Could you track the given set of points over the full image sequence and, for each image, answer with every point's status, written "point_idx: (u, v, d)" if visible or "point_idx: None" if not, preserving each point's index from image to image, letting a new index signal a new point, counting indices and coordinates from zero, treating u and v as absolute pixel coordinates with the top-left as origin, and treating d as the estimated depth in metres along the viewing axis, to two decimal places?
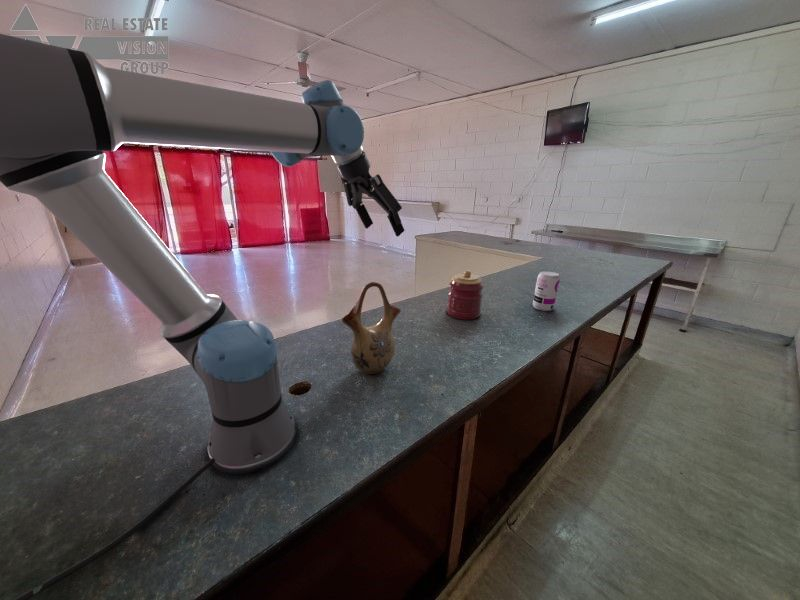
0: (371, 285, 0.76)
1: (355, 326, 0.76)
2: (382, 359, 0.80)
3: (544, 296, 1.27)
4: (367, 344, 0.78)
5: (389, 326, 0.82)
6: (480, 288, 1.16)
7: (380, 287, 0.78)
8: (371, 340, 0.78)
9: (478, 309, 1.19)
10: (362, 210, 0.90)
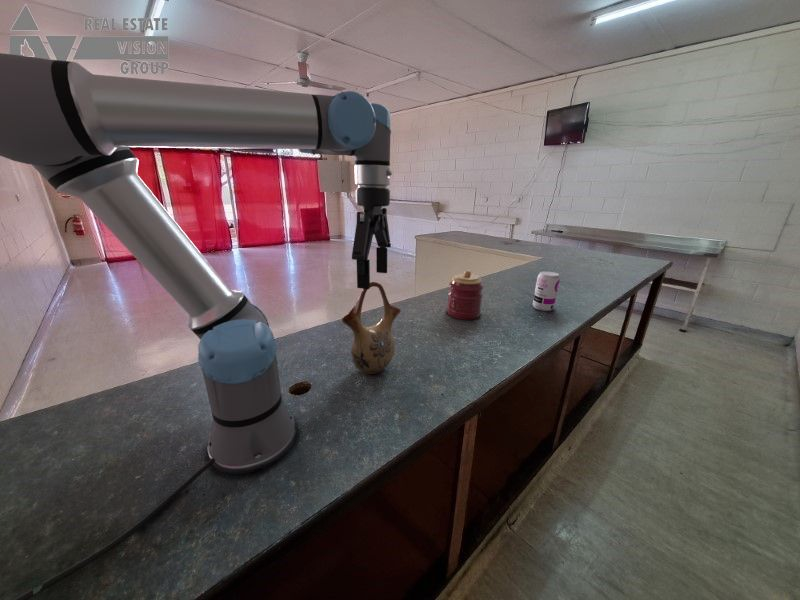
0: (371, 285, 0.76)
1: (355, 326, 0.76)
2: (382, 359, 0.80)
3: (544, 296, 1.27)
4: (367, 344, 0.78)
5: (389, 326, 0.82)
6: (480, 288, 1.16)
7: (380, 287, 0.78)
8: (371, 340, 0.78)
9: (478, 309, 1.19)
10: (381, 252, 0.81)
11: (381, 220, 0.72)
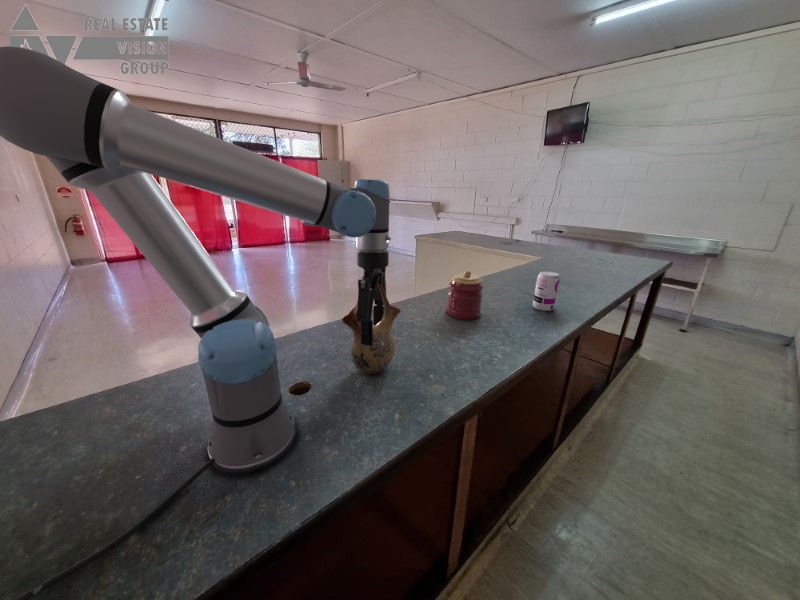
0: None
1: (355, 327, 0.76)
2: (382, 359, 0.80)
3: (544, 296, 1.27)
4: None
5: (389, 326, 0.82)
6: (480, 288, 1.16)
7: (380, 287, 0.78)
8: None
9: (478, 309, 1.19)
10: (378, 310, 0.84)
11: (380, 278, 0.77)
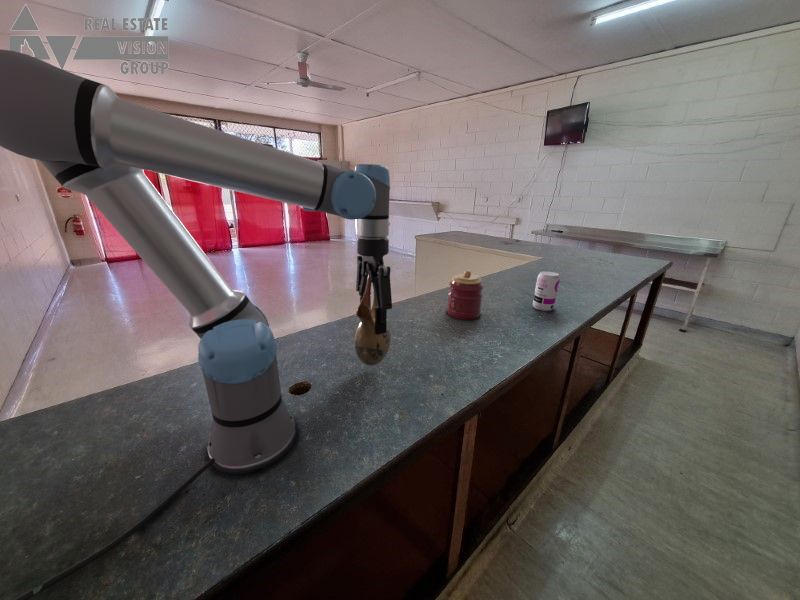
0: None
1: (370, 319, 0.74)
2: (389, 344, 0.82)
3: (544, 296, 1.27)
4: None
5: None
6: (480, 288, 1.16)
7: None
8: None
9: (478, 309, 1.19)
10: None
11: None
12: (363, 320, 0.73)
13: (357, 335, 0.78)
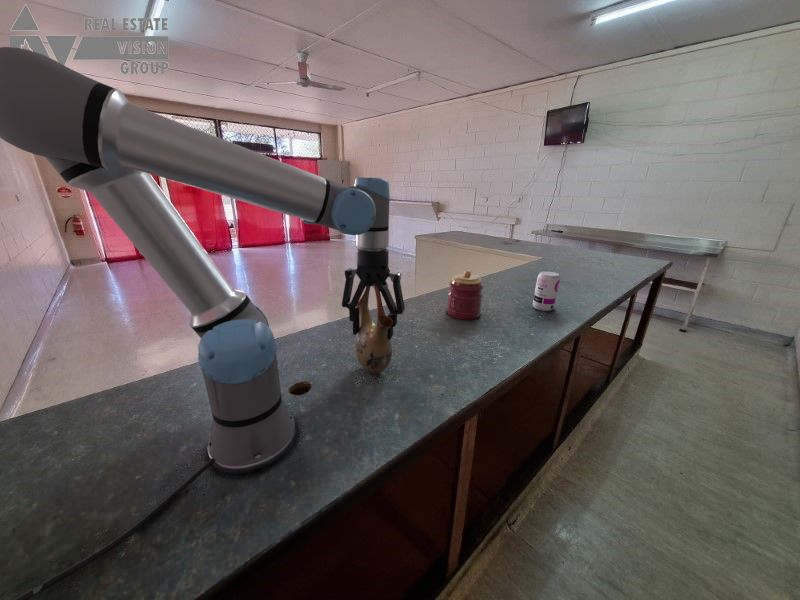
0: None
1: None
2: None
3: (544, 296, 1.27)
4: None
5: None
6: (480, 288, 1.16)
7: None
8: None
9: (478, 309, 1.19)
10: (357, 313, 0.81)
11: None
12: (387, 329, 0.75)
13: (372, 347, 0.77)
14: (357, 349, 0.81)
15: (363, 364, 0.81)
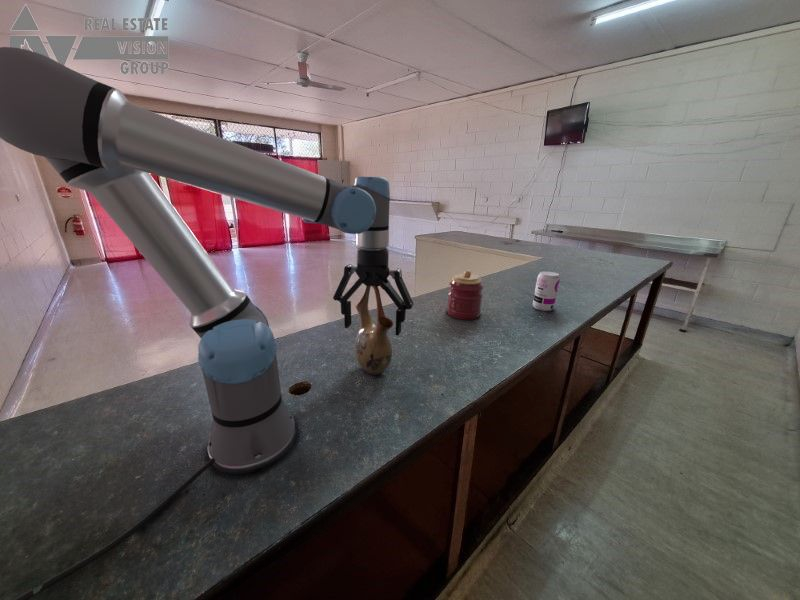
0: None
1: None
2: None
3: (544, 296, 1.27)
4: (389, 339, 0.81)
5: None
6: (480, 288, 1.16)
7: None
8: None
9: (478, 309, 1.19)
10: (349, 306, 0.81)
11: None
12: (387, 330, 0.75)
13: (372, 349, 0.78)
14: (357, 350, 0.81)
15: (363, 365, 0.81)
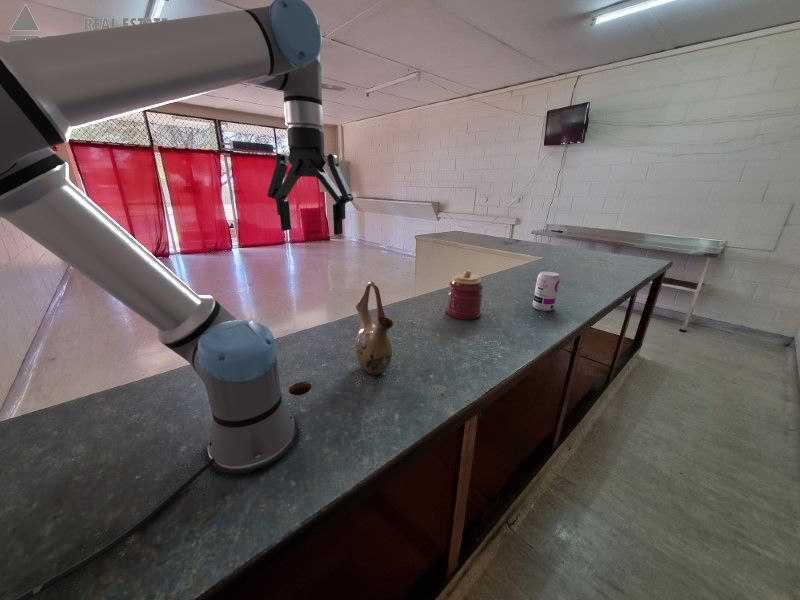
0: None
1: None
2: None
3: (544, 296, 1.27)
4: (389, 339, 0.81)
5: None
6: (480, 288, 1.16)
7: None
8: None
9: (478, 309, 1.19)
10: (285, 206, 0.73)
11: None
12: (387, 330, 0.75)
13: (372, 349, 0.78)
14: (357, 350, 0.81)
15: (363, 365, 0.81)
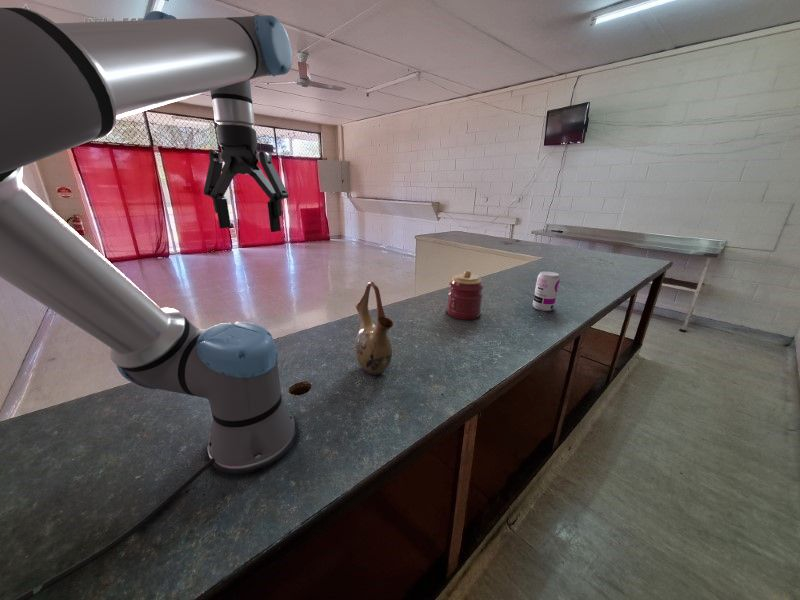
0: None
1: None
2: None
3: (544, 296, 1.27)
4: (389, 339, 0.81)
5: None
6: (480, 288, 1.16)
7: None
8: None
9: (478, 309, 1.19)
10: (223, 204, 0.73)
11: None
12: (387, 330, 0.75)
13: (372, 349, 0.78)
14: (357, 350, 0.81)
15: (363, 365, 0.81)
